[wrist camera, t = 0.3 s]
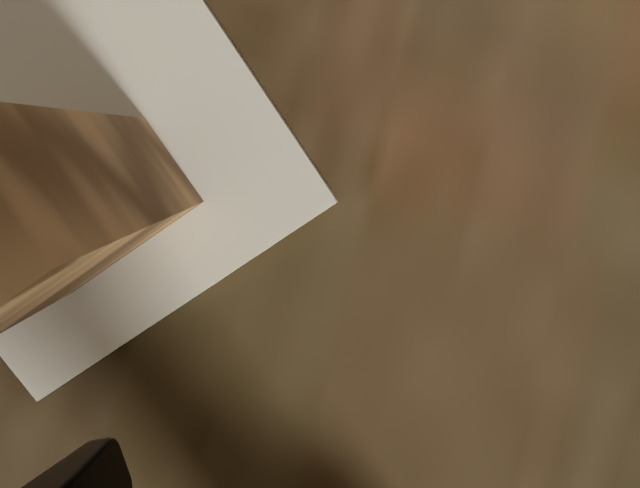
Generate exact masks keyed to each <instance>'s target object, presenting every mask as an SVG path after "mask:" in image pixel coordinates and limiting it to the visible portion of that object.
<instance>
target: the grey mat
mask: <svg viewBox="0 0 640 488" xmlns="http://www.w3.org/2000/svg"><path fill="white" fill-rule="evenodd" d="M0 102H7V103H16V104H25V105H33V106H42V107H51V108H60V109H68V110H77V111H86V112H95V113H103V114H112V115H121V116H130V117H138V118H145V119H146V120H147V122H148V123H149V125H150V126H151V127H152V129H153V130H154V132H155V133H156V135H157V136H158V137H159V139H160V140H161V142H162V143H163V144H164V146H165V147H166V149H167V150H168V151H169V153H170V154H171V156H172V157H173V159H174V160H175V161H176V163H177V164H178V166H179V167H180V168H181V170H182V171H183V173H184V174H185V176H186V177H187V178H188V180H189V181H190V183H191V184H192V185H193V187H194V188H195V190H196V191H197V192H198V194H199V195H200V197H201V198H202V200H203V201H204V202H203V203H201V204H200V205H198V206H197V207H195V208H194V209H192V210H191V211H189V212H188V213H187V214H185V215H184V216H182V217H181V218H179V219H178V220H176V221H175V222H174V223H172V224H171V225H169V226H168V227H166V228H165V229H163V230H162V231H161V232H159V233H158V234H156V235H155V236H153V237H152V238H150V239H149V240H148V241H146V242H145V243H143V244H142V245H140V246H139V247H137V248H136V249H135V250H133V251H132V252H130V253H129V254H127V255H126V256H124V257H123V258H122V259H120V260H119V261H117V262H116V263H114V264H113V265H111V266H110V267H109V268H107V269H106V270H104V271H103V272H101V273H100V274H98V275H97V276H96V277H94V278H93V279H91V280H90V281H88V282H87V283H85V284H84V285H82V286H81V287H80V288H78V289H77V290H75V291H74V292H72V293H71V294H69V295H67V296H65V297H64V298H62V299H60V300H58V301H57V302H55V303H53V304H51V305H50V306H48V307H46V308H44V309H42V310H41V311H39V312H37V313H35V314H34V315H32V316H30V317H28V318H27V319H25V320H23V321H21V322H20V323H18V324H16V325H14V326H13V327H11V328H9V329H7V330H6V331H4V332H2V333H0V356H1V358H2V359H3V360H4V361H5V363H6V364H7V365H8V366H9V368H10V369H11V370H12V371H13V373H14V374H15V375H16V376H17V378H18V379H19V380H20V381H21V383H22V384H23V385H24V386H25V388H26V389H27V390H28V391H29V392H30V394H31V395H32V396H33V397H34V399H35V400H36V401H37V402H38V401H39V400H41V399H42V398H44V397H45V396H47V395H48V394H50V393H51V392H53V391H54V390H56V389H57V388H59V387H60V386H62V385H63V384H65V383H66V382H68V381H69V380H71V379H72V378H74V377H75V376H77V375H78V374H80V373H81V372H83V371H84V370H86V369H87V368H89V367H90V366H92V365H93V364H95V363H96V362H98V361H99V360H101V359H102V358H104V357H105V356H107V355H108V354H110V353H111V352H113V351H114V350H116V349H117V348H119V347H120V346H122V345H123V344H125V343H126V342H128V341H129V340H131V339H132V338H134V337H135V336H137V335H138V334H140V333H141V332H143V331H144V330H146V329H147V328H149V327H150V326H152V325H153V324H155V323H156V322H158V321H159V320H161V319H162V318H164V317H165V316H167V315H168V314H170V313H171V312H173V311H175V310H176V309H178V308H179V307H181V306H182V305H184V304H185V303H187V302H188V301H190V300H191V299H193V298H194V297H196V296H197V295H199V294H200V293H202V292H203V291H205V290H206V289H208V288H209V287H211V286H212V285H214V284H215V283H217V282H218V281H220V280H221V279H223V278H224V277H226V276H227V275H229V274H230V273H232V272H233V271H235V270H236V269H238V268H239V267H241V266H242V265H244V264H245V263H247V262H248V261H250V260H251V259H253V258H254V257H256V256H257V255H259V254H260V253H262V252H263V251H265V250H266V249H268V248H269V247H271V246H272V245H274V244H275V243H277V242H278V241H280V240H281V239H283V238H284V237H286V236H287V235H289V234H290V233H292V232H293V231H295V230H296V229H298V228H299V227H301V226H302V225H304V224H305V223H307V222H308V221H310V220H311V219H313V218H314V217H316V216H317V215H319V214H321V213H322V212H324V211H325V210H327V209H328V208H330V207H331V206H333V205H334V204H336V203H337V202H338V200H337V198H336V197H335V195H334V194H333V192H332V191H331V189H330V188H329V186H328V185H327V183H326V182H325V180H324V179H323V178H322V176H321V175H320V173H319V172H318V170H317V169H316V167H315V166H314V164H313V163H312V161H311V160H310V158H309V157H308V155H307V154H306V152H305V151H304V149H303V148H302V146H301V145H300V143H299V142H298V140H297V139H296V137H295V136H294V134H293V133H292V131H291V130H290V128H289V127H288V125H287V124H286V122H285V121H284V119H283V118H282V116H281V115H280V113H279V112H278V110H277V109H276V107H275V106H274V104H273V103H272V101H271V100H270V98H269V97H268V95H267V94H266V92H265V91H264V89H263V88H262V86H261V85H260V83H259V82H258V80H257V79H256V77H255V76H254V74H253V73H252V71H251V70H250V68H249V67H248V65H247V64H246V62H245V61H244V59H243V58H242V56H241V55H240V53H239V52H238V50H237V49H236V47H235V46H234V44H233V43H232V41H231V40H230V38H229V37H228V35H227V34H226V32H225V31H224V29H223V28H222V26H221V25H220V23H219V22H218V20H217V19H216V17H215V16H214V14H213V13H212V11H211V10H210V8H209V7H208V5H207V4H206V2H205V1H204V0H0Z"/></svg>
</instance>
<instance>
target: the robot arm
mask: <svg viewBox="0 0 640 488" xmlns="http://www.w3.org/2000/svg"><path fill="white" fill-rule="evenodd" d="M22 488H132V480H131V476H130V473H129V471H128V468H127V465H126V462H125V459H124V457H123V454H122V451H121V448H120V445H119V443H118V442H117V440H116V439H114V438H112V437H107V438H102V439H97V440H92V441H89V442H87V443H85V444H84V445H83V446H81V447H80V448H78V449H77V450H75V451H74V452H72V453H71V454H70V455H68V456H67V457H65V458H64V459H62V460H61V461H59V462H58V463H56V464H55V465H54V466H52V467H51V468H49V469H48V470H46V471H45V472H43V473H42V474H40V475H39V476H38V477H36V478H35V479H33V480H32V481H30V482H29V483H27V484H26V485H24V486H23V487H22Z"/></svg>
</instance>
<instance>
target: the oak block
mask: <svg viewBox="0 0 640 488" xmlns="http://www.w3.org/2000/svg"><path fill="white" fill-rule="evenodd" d="M203 202H204V201H203V200H202V198H201V197H200V195H199V194H198V192H197V191H196V190H195V188H194V187H193V185H192V184H191V183H190V181H189V180H188V178H187V177H186V176H185V174H184V173H183V171H182V170H181V168H180V167H179V166H178V164H177V163H176V161H175V160H174V159H173V157H172V156H171V154H170V153H169V151H168V150H167V149H166V147H165V146H164V144H163V143H162V142H161V140H160V139H159V137H158V136H157V135H156V133H155V132H154V130H153V129H152V127H151V126H150V125H149V123H148V122H147V120H146V119H145V118H138V117H130V116H121V115H112V114H103V113H95V112H86V111H77V110H68V109H60V108H51V107H42V106H33V105H25V104H16V103H7V102H0V333H2V332H4V331H6V330H7V329H9V328H11V327H13V326H14V325H16V324H18V323H20V322H21V321H23V320H25V319H27V318H28V317H30V316H32V315H34V314H35V313H37V312H39V311H41V310H42V309H44V308H46V307H48V306H50V305H51V304H53V303H55V302H57V301H58V300H60V299H62V298H64V297H65V296H67V295H69V294H71V293H72V292H74V291H75V290H77V289H78V288H80V287H81V286H82V285H84V284H85V283H87V282H88V281H90V280H91V279H93V278H94V277H96V276H97V275H98V274H100V273H101V272H103V271H104V270H106V269H107V268H109V267H110V266H111V265H113V264H114V263H116V262H117V261H119V260H120V259H122V258H123V257H124V256H126V255H127V254H129V253H130V252H132V251H133V250H135V249H136V248H137V247H139V246H140V245H142V244H143V243H145V242H146V241H148V240H149V239H150V238H152V237H153V236H155V235H156V234H158V233H159V232H161V231H162V230H163V229H165V228H166V227H168V226H169V225H171V224H172V223H174V222H175V221H176V220H178V219H179V218H181V217H182V216H184V215H185V214H187V213H188V212H189V211H191V210H192V209H194V208H195V207H197V206H198V205H200V204H201V203H203Z"/></svg>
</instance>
